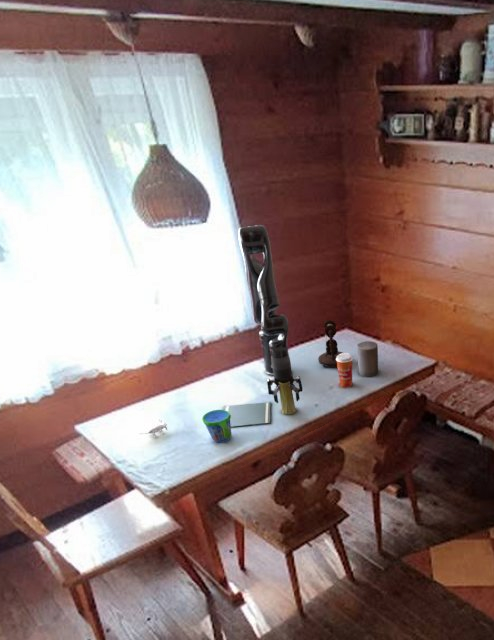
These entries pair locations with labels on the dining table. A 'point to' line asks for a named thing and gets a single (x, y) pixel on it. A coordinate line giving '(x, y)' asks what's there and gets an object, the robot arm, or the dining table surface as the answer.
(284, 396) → the vase
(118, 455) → the dining table surface
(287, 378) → the robot arm
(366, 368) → the pillar candle
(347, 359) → the paper cup
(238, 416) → the green board
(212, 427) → the snack cup
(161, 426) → the grey animal figurine
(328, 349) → the dark brown sculpture
